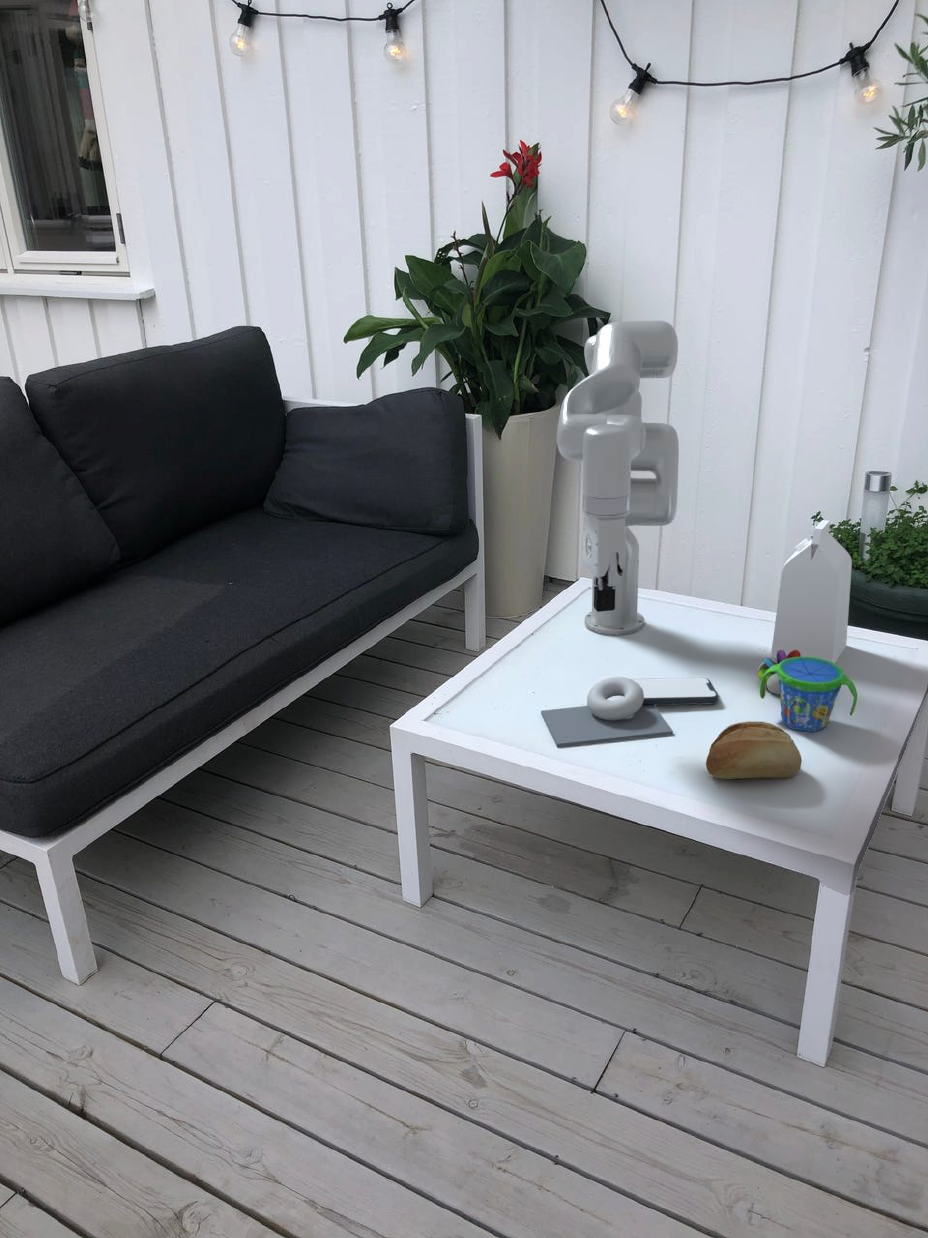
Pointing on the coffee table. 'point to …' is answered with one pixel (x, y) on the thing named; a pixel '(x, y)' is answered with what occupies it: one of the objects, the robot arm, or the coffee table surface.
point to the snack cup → (808, 691)
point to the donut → (620, 707)
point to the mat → (602, 725)
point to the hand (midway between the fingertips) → (604, 609)
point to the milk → (814, 599)
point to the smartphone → (677, 691)
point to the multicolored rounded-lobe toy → (772, 677)
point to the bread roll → (753, 752)
